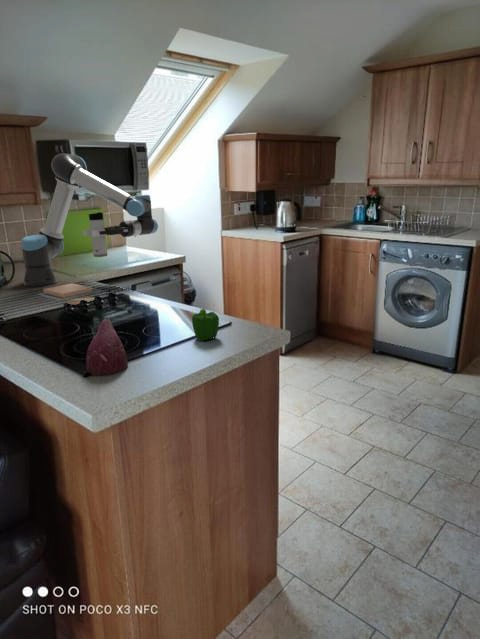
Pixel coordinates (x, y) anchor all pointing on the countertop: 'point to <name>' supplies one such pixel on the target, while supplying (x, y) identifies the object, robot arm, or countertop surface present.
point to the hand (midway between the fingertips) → (88, 233)
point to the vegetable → (106, 352)
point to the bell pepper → (205, 324)
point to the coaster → (77, 300)
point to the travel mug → (98, 241)
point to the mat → (69, 297)
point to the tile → (67, 290)
